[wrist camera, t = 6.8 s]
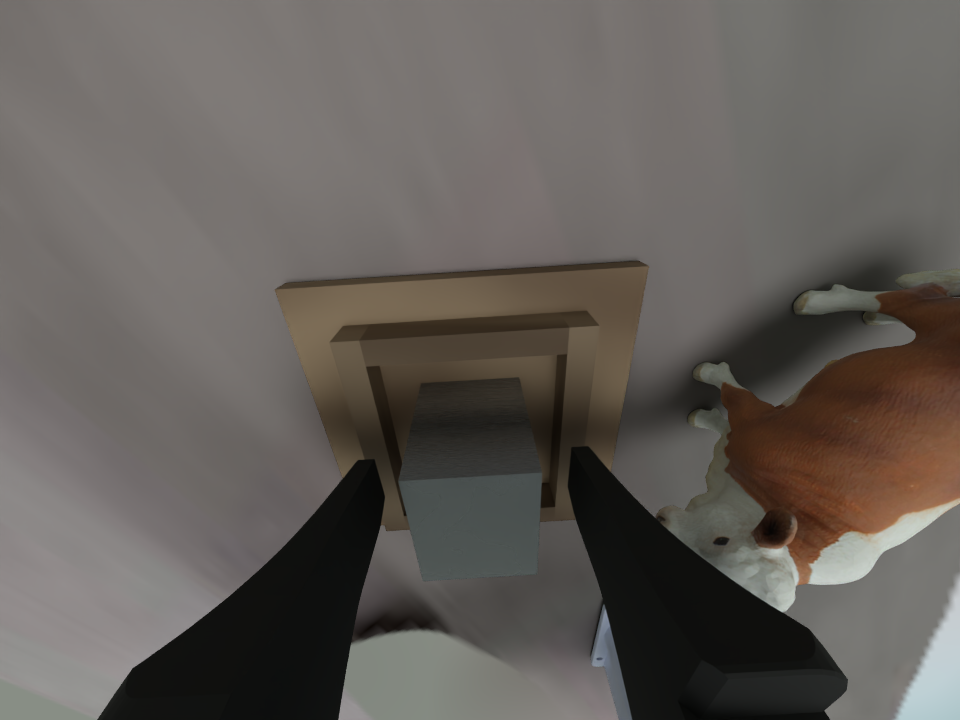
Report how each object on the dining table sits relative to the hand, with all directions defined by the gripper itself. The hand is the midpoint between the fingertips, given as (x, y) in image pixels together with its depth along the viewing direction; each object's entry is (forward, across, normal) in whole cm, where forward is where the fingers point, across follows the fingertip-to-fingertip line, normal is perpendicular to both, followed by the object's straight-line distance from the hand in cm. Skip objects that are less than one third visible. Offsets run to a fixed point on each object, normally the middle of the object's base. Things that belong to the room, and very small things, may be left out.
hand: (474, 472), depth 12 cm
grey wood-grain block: (+3, 0, 0) cm, 3 cm away
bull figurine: (+4, -12, -2) cm, 13 cm away
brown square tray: (+3, 0, 0) cm, 3 cm away
